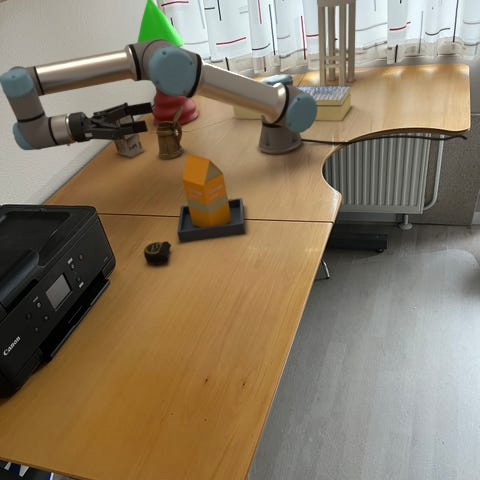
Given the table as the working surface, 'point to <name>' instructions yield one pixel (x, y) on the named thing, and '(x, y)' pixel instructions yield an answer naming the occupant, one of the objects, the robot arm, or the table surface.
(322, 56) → the stool
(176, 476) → the table surface
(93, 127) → the robot arm
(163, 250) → the tape measure
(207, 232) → the tray
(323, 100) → the pale yellow long box
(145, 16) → the table lamp
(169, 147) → the wooden mug
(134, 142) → the coffee box
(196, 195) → the orange juice
